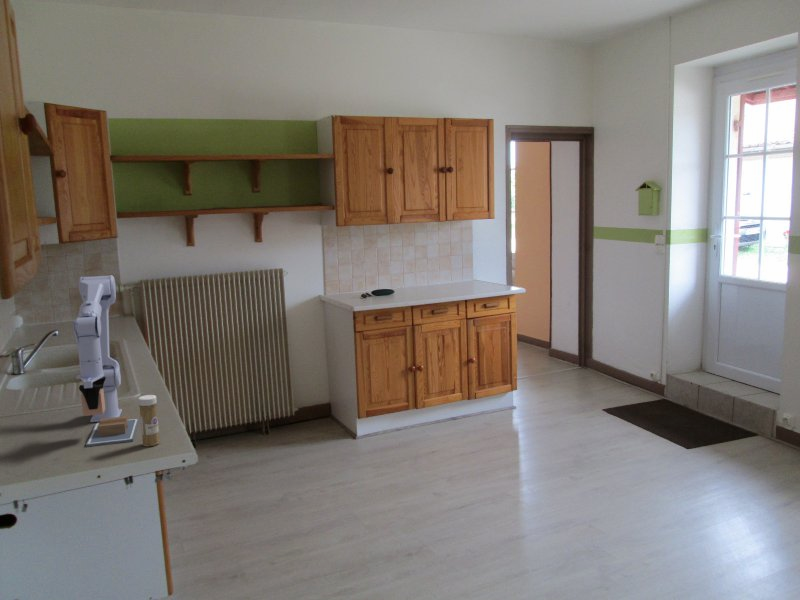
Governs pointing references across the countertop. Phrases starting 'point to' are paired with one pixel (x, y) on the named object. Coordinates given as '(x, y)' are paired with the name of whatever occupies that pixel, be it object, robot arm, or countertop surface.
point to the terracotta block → (97, 411)
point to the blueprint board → (112, 439)
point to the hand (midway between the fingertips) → (95, 406)
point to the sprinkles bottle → (149, 420)
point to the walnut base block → (112, 426)
